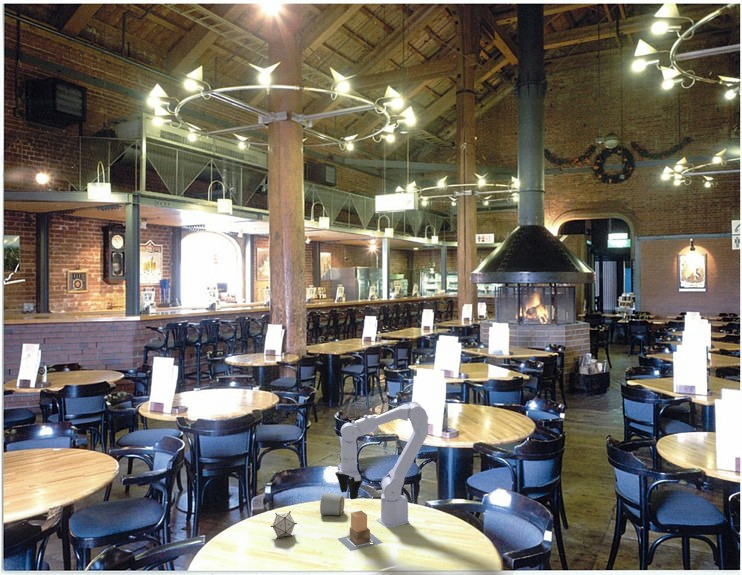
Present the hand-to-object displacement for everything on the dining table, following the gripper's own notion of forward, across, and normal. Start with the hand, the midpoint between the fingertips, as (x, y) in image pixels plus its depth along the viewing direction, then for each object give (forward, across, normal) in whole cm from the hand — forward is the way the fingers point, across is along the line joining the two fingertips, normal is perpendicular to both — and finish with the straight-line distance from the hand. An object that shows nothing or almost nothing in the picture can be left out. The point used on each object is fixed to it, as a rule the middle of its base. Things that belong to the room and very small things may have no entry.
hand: (348, 495), depth 196 cm
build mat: (+10, +14, -3) cm, 18 cm away
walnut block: (+10, +14, -3) cm, 18 cm away
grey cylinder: (+11, -12, -1) cm, 16 cm away
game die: (+11, -2, -24) cm, 26 cm away
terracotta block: (+6, +14, -3) cm, 16 cm away
